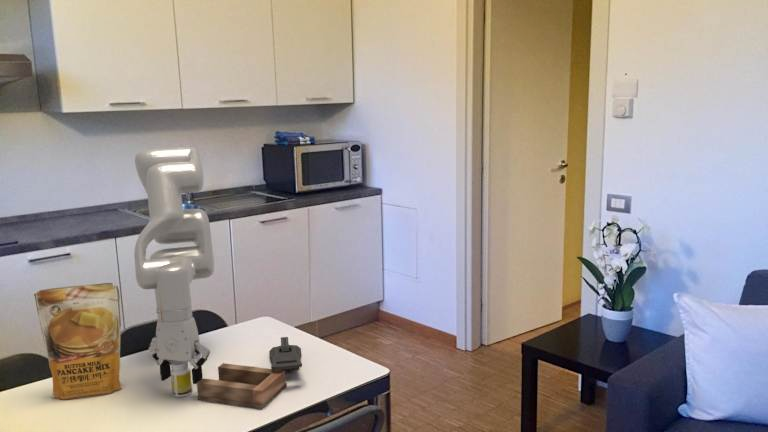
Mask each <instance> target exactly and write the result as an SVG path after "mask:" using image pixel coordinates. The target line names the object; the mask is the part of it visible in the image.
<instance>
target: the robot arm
mask: <svg viewBox="0 0 768 432" xmlns="http://www.w3.org/2000/svg"><path fill="white" fill-rule="evenodd" d="M134 164H135V169H136V172H137V175H138V178H139V180H140V182H141V184H142V186H143V188H144V190H145V193H146V194H147V202H148V204H147V205H148V213H149V215H148V216H149V220H148V223H147V224H146V226H145V227H144V228H143V229H142V231H141V232H140V234H139V235H138V237H137V240H136V241H135V246H134V254H133V255H134V256H133V257H134V266H135V267H134V268H135V269H134V270H135V279H136V283H137V285H138V286H139V288H141V289H144V290H154V294H155V295H154V297H155V304H156V312H155V313H156V314H157V315H156V316H157V317H156V318H157V321H156V329H155V337H153V338H152V339H151V342H150V344H149V346H148V351H149V352H150V353H151V355H152V357H153V359H154V360H155V361H156V365H157V366H159V373H160V379H161V381H162V382H163V381H166V380H168V379H169V378H171V370H172V368H171V363H172V362H173V361H183V362H188V363H190V365H191V366H192V368H191V381H192V384H193V385H197V382H198V381H200V380H201V379H202V378H203V368H202V367H203V365H205V364H204V363H206V361H207V360H208V358H209V356H210V354H211V350H209V349H208V348H207V347H205V346H204V345H202V344H201V343H200V336H199V331H198V326H197V322H196V320H195V317H193V309H192V297H191V289H190V285H191V284H192V281H193V280H202V279H207V278H210V277H211V276H212V275H213V274H214V271H215V260H214V251H213V243H212V233H211V232H212V231H211V225H210V220H209V216H208V214H207V212H206V211H205V210H204V209H201V208H185V209H183V208H184V207H183V199H182V198H183V197H182V194H195V193H199V192H201V190H203V189H204V188H203V187H204V181H205V179H204V171H203V170H204V169H203V165H202V162H201V157H200V153H199V151H198V149H197V148H196V147H192V146H174V147H154V148H148V149H147V148H146V149H143V150H140V151H138V152H137V153H136V154H135V157H134ZM153 240H154V242H155V243H158V244H159V245H169V244H171V245H172V244H174V245H175V244H181V243H182V244H183V243H194V244H195V245H191V246H180V247H169V248H162V249H159V250H157V251H154V252H153V253H152V254H151V255H150V257H149V259H147V248H148V246H149V244H150V243H151V242H152V241H153ZM200 354H201V356H200Z"/></svg>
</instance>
